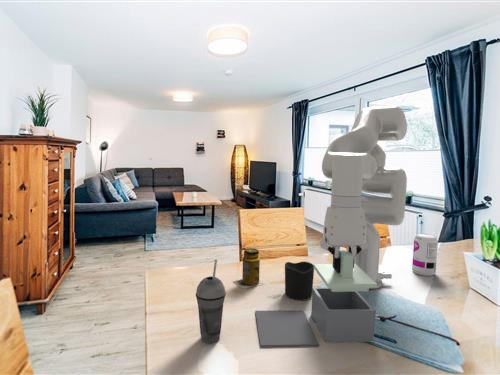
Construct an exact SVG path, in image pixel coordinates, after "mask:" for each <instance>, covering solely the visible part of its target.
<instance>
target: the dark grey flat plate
mask: <svg viewBox="0 0 500 375" xmlns="http://www.w3.org/2000/svg"><path fill="white" fill-rule="evenodd" d="M255 318H256V324H257V332H258V338H259V344H260V348H284V347H286V348H291V347H292V348H295V347H296V348H297V347H298V348H299V347H303V348H304V347H320V343H319V341H318V339H317V337H316V334H315V332H314V331H313V328H312V325H311V323H310V321H309V319H308V317H307V315H306V313H305V310H304V309H297V310H294V309H291V310H289V309H288V310H286V309H284V310H280V309H279V310H274V309H273V310H255Z"/></svg>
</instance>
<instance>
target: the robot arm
mask: <svg viewBox="0 0 500 375" xmlns="http://www.w3.org/2000/svg"><path fill="white" fill-rule="evenodd" d="M406 118H407V117H406V113H405V112H404V111H403V109H402V108H401V107H399V106H396V105H392V106H391V105H389V106H388V105H387V106H386V105H385V106H372V107H371V106H370V107H364V108H362V109H361V110H360V111H359V112H358V113H357V115H356V117H355V120H354V122H353V125H352V127H351V130H350V131H348V132H346V133H345V134H343V135H341V136H339V137H337V138H336V139H334V140H333V141H332V142H331V143H330V144H329V145H328V147H327V149H326V151H325V153H324V155H323V158H322V161H321V162H322V163H321V172H322V174H323V175H324V177H325V178H327V179H329V180H331V191H330V192H331V194H330V205H327V206H326V211H325V216H324V221H323V229H322V230H323V231H322V232H323V233H322V240H321V241H320V243H319V247H320V248H321V249H323V250H325V251H328V252H329V253H330V254H331V255H332V264H333V268H334V269H335V271H336V272H337V273H340V267H341V258H340V255H339V253H340V247H347V250H348V251H349V252H350V253H351V254H353V255H354V259H353V268H354V264H356V265H357V266H358V267H359V268H360V269H361V270H363V271H364V272H365V273H366V274H367V275H368V276H369V277H370V278H371V279H372V280H374V281H375V282H376V283H377V288H369V290H374V289H380V288H381V287H383V280H384V279H385V280H387V279H388V280H389V279H392V278H393V275H392V273H391V272H385V271H383V270H381V271H380V270H379V269H380V268H379V266H380V249H381V234H380V232H379V230H378V229H377V227H376V226H375V225H376V224H377V225H386V226H399V225H401V224H403V222H404V218H405V214H406V213H405V212H406V200H407V198H406V197H407V185H408V184H407V183H408V179H407V173H406V171H405V170H404V169H403V168H400V167H393V166H391V167H389V166H386V158H387V155H386V153H385V151H384V150H383V148H382V147H381V146H380V144H378V142H379V141H381V142H382V141H383V142H384V141H385V142H389V141H391V142H392V141H394V142H396V141H397V142H398V141H402V140H403V139H404V138H405V137H406V135H407V130H408V123H407V119H406ZM363 193H369V194H382V195H390V196H391V197H389V196H377V195H375V196H374V195H363Z"/></svg>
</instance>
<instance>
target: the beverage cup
mask: <svg viewBox="0 0 500 375" xmlns="http://www.w3.org/2000/svg"><path fill="white" fill-rule="evenodd" d="M217 263H218V260H217V259H214V265H213V272H212V276H206V277H205V278H203V279H202V280H201V281H200V282H199V284H198V285H197V287H196V291H195V297H196V302H197V309H198V320H199V321H198V322H199V330H200V338H201V339H200V341H201V342H202V343H203V344H205V345H214V344H216V343H218V342H219V341H220V339H221V338H220V336H221V333H222V322H223V311H224V303H225V299H226V288H225V285H224V283H223V282H222V280H220V278H218V277H216V271H217Z"/></svg>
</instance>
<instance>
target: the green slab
mask: <svg viewBox="0 0 500 375" xmlns="http://www.w3.org/2000/svg"><path fill="white" fill-rule="evenodd" d="M339 255H340V258H341V267H340V273H337V272H336V271H335V269H334V268H333V263H314V264H313V265H314V271H315V272H316V273H317V275H318V276H319V277H320V279H321V280H322V281H323V283H324V284H325V286H326V287H328V288H330V290H331V291H332V292H354V291H358V292H369V291H370V289H369V288H376V289H378V288H377V283H376V282H375V281H374V280H372V279H371V278H370V277H369V276H368V275H367V274H366V273H365V272H364V271H363V270H361V269H360V268H359V267H358V266H357V265H356V264H354V268H353V259H354V255H353V254H351V253H350V252H349V251H348V248H345V246H340V253H339Z"/></svg>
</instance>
